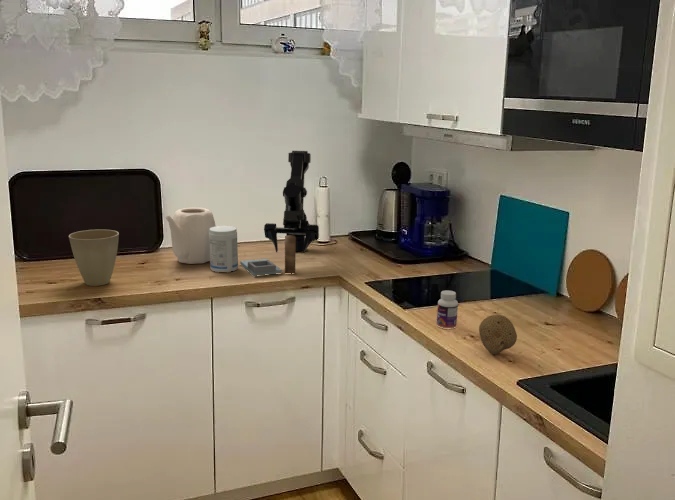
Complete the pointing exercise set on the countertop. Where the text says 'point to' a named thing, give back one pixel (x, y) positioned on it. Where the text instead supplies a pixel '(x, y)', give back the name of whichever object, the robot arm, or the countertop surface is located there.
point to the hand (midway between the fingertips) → (290, 252)
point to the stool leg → (290, 253)
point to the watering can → (191, 234)
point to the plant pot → (95, 254)
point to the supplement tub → (223, 248)
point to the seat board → (260, 267)
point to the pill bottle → (447, 310)
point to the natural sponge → (497, 333)
